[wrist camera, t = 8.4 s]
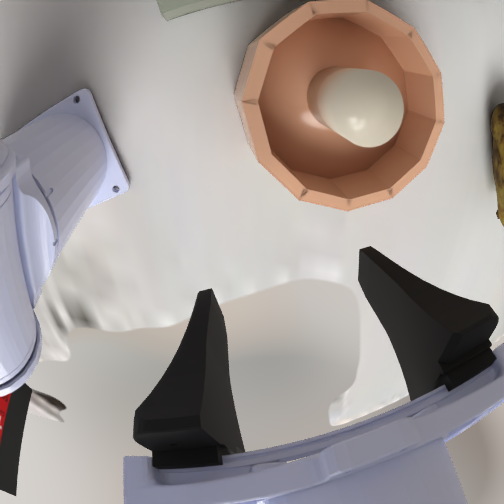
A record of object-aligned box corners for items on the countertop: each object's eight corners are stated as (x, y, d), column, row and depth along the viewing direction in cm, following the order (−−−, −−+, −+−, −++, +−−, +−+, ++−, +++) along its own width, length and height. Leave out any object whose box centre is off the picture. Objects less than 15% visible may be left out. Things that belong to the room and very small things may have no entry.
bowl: (264, 202, 22) (276, 232, 18) (213, 28, 14) (215, 17, 11) (412, 163, 21) (442, 183, 18) (394, 9, 13) (429, 5, 10)
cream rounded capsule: (314, 135, 18) (341, 155, 15) (299, 72, 16) (325, 75, 12) (371, 122, 18) (406, 139, 14) (360, 62, 15) (398, 66, 12)
